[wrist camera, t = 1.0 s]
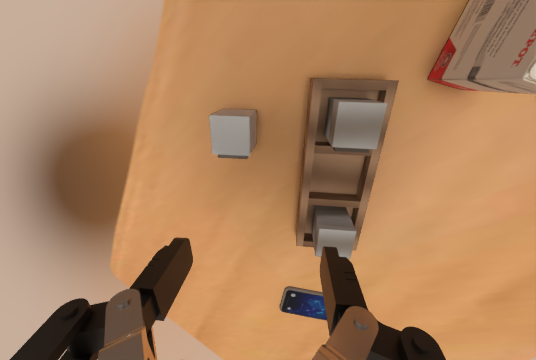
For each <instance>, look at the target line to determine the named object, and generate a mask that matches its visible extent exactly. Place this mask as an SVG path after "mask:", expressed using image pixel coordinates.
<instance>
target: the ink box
mask: <svg viewBox="0 0 536 360" xmlns="http://www.w3.org/2000/svg"><path fill="white" fill-rule="evenodd" d="M428 79H429V80H430V81H433V82H436V83H440V84H443V85H446V86H450V87H453V88H457V89H461V90H473V91H488V92H503V93H523V94H536V0H469V2H468V4H467V6H466V8H465V9H464V11H463V13H462V15H461V17H460V19H459V21H458V23H457V24H456V26H455V28H454V30H453V32H452V34H451V36H450V38H449V40H448V41H447V43H446V46H445V47H444V49H443V51H442V53H441V55H440V56H439V58H438V60H437V62H436V64H435V66H434V68H433V70H432V72H431V73H430V76H429V77H428Z"/></svg>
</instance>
